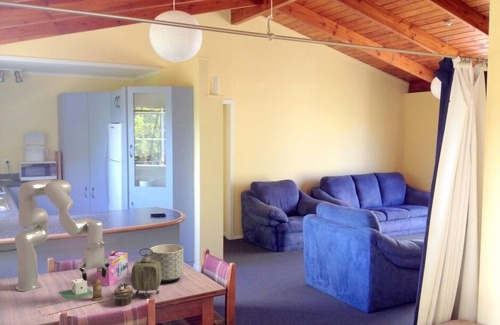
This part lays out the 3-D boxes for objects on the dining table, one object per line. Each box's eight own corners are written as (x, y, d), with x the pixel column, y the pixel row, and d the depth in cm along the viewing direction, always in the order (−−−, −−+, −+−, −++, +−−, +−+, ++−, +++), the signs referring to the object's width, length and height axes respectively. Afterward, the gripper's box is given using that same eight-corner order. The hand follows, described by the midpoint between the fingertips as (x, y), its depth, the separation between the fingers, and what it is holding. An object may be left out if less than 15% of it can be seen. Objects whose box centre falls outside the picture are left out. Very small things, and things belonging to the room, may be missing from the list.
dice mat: (58, 292, 249) (58, 292, 249) (85, 287, 257) (85, 286, 257) (67, 300, 238) (67, 300, 238) (94, 294, 247) (94, 293, 247)
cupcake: (125, 298, 241) (124, 279, 240) (136, 302, 235) (136, 283, 234) (108, 303, 234) (108, 284, 233) (120, 308, 228) (120, 288, 227)
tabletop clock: (162, 292, 250) (161, 246, 248) (159, 298, 241) (158, 250, 239) (134, 292, 249) (133, 246, 247) (130, 299, 240) (129, 250, 238)
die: (71, 291, 250) (71, 280, 249) (83, 289, 254) (82, 278, 253) (75, 294, 245) (75, 283, 245) (87, 292, 249) (87, 280, 249)
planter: (187, 274, 279) (186, 244, 278) (179, 285, 260) (178, 253, 259) (155, 273, 281) (155, 243, 279) (145, 284, 262) (145, 252, 261)
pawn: (90, 298, 239) (90, 278, 239) (100, 296, 243) (100, 276, 242) (94, 301, 235) (93, 281, 235) (104, 299, 239) (104, 279, 238)
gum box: (118, 272, 283) (117, 250, 282) (130, 273, 281) (129, 251, 280) (96, 285, 260) (95, 261, 259) (109, 287, 258) (108, 262, 257)
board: (35, 308, 227) (35, 307, 227) (101, 293, 248) (101, 292, 248) (43, 316, 218) (43, 316, 218) (111, 300, 239) (111, 299, 239)
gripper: (108, 241, 246) (107, 273, 248) (74, 246, 235) (74, 279, 237) (114, 244, 241) (113, 277, 242) (80, 249, 230) (79, 283, 231)
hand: (94, 278), depth 240 cm, fingers open, 9 cm apart
